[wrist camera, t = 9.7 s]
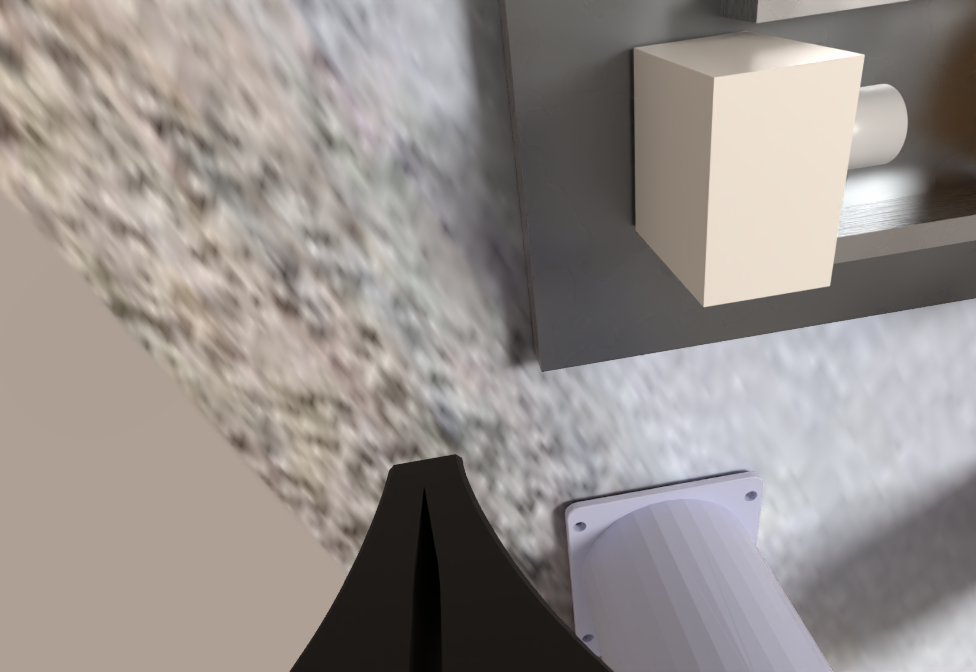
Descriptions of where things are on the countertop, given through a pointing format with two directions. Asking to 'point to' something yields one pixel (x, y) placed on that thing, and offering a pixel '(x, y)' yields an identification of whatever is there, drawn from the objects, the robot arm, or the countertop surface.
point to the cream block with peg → (752, 158)
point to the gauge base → (611, 170)
